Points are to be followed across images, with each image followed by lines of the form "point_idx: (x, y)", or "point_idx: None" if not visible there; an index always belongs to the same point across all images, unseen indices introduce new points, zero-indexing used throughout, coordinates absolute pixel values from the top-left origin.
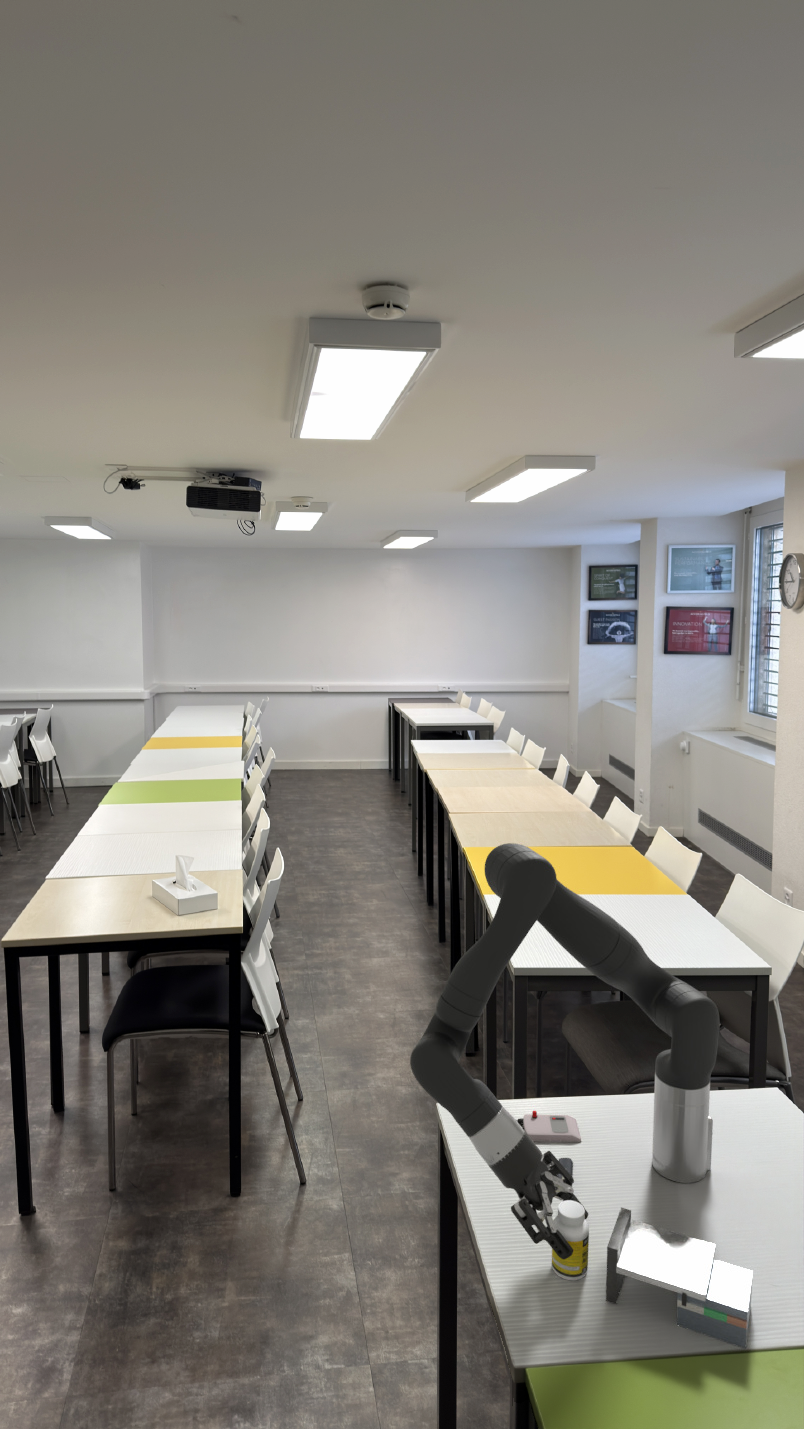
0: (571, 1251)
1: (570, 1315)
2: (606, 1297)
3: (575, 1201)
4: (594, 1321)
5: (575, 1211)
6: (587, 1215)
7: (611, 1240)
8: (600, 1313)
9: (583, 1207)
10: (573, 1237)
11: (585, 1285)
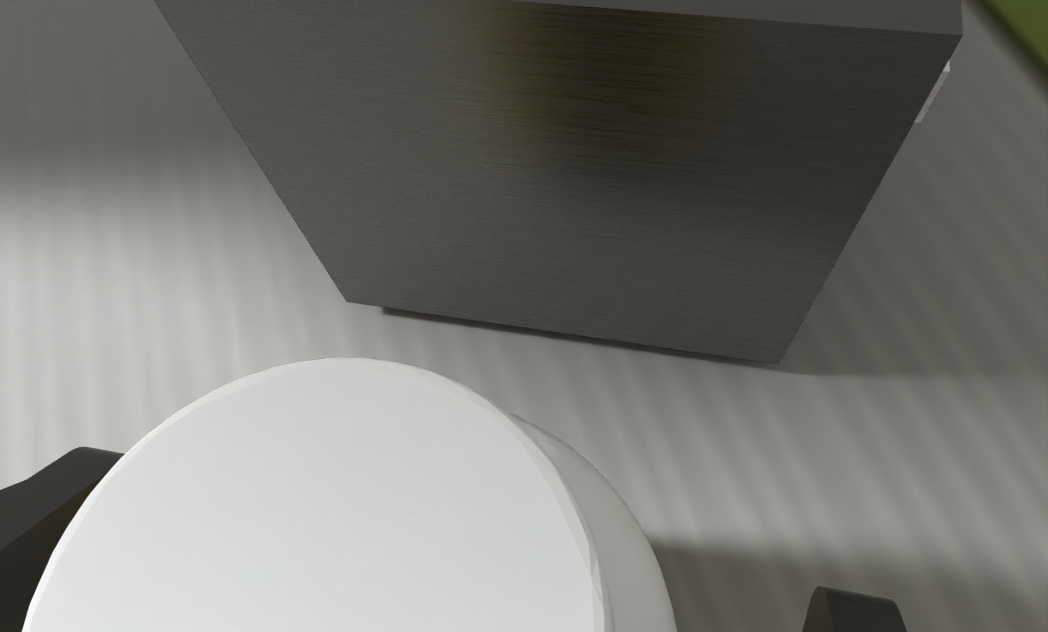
0: (896, 606)
1: (1006, 624)
2: (786, 349)
3: (56, 559)
4: (971, 437)
5: (370, 534)
6: (117, 454)
7: (807, 5)
8: (876, 402)
9: (233, 384)
10: (663, 590)
11: (643, 527)
